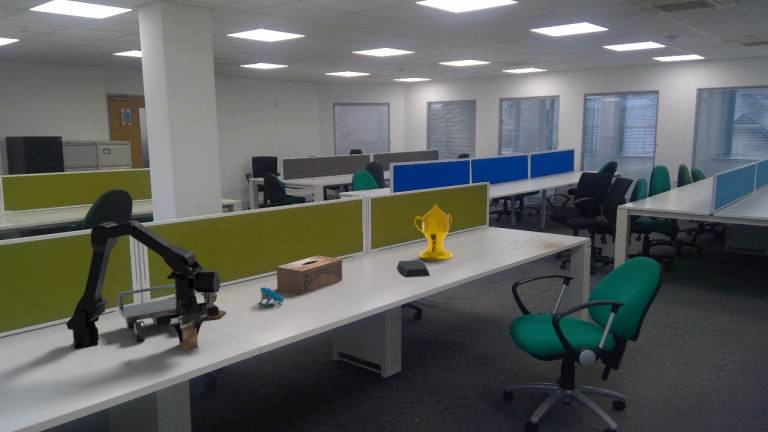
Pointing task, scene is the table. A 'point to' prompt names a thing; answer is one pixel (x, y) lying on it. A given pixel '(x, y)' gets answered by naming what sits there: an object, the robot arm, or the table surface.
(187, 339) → the block
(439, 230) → the trophy cup
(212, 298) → the robot figurine
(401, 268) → the external hard drive
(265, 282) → the table surface
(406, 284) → the table surface
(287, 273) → the tissue box cover
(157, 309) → the trolley
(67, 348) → the table surface
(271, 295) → the blue irregular piece
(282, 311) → the table surface
